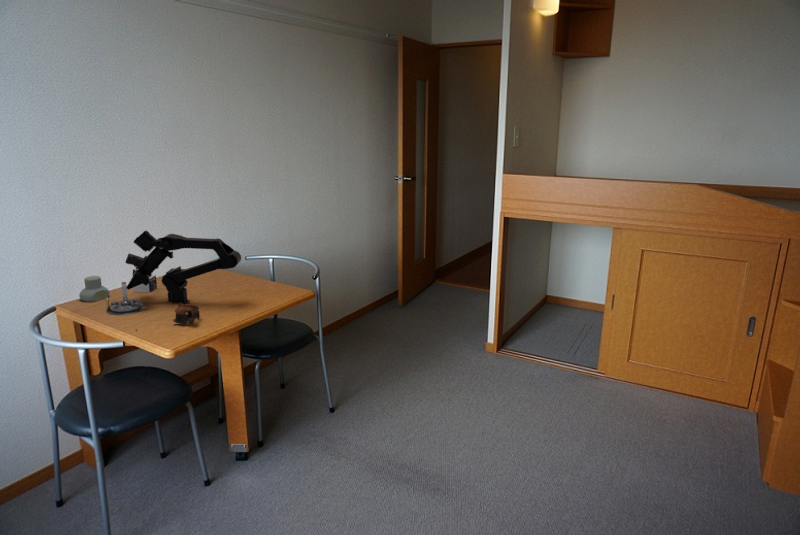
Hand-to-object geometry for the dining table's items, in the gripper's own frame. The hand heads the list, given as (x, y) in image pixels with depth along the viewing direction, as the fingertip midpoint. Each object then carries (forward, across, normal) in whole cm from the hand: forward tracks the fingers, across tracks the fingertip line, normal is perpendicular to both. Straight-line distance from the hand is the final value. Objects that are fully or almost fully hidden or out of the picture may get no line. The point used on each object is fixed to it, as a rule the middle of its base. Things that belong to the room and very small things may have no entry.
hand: (127, 288), depth 222 cm
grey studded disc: (+5, +4, +4) cm, 8 cm away
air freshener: (+15, -13, -4) cm, 20 cm away
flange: (+6, +6, +5) cm, 10 cm away
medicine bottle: (+2, -18, +10) cm, 21 cm away
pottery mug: (-9, +26, +20) cm, 34 cm away
